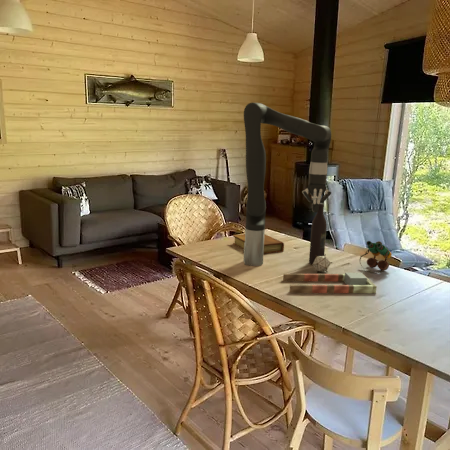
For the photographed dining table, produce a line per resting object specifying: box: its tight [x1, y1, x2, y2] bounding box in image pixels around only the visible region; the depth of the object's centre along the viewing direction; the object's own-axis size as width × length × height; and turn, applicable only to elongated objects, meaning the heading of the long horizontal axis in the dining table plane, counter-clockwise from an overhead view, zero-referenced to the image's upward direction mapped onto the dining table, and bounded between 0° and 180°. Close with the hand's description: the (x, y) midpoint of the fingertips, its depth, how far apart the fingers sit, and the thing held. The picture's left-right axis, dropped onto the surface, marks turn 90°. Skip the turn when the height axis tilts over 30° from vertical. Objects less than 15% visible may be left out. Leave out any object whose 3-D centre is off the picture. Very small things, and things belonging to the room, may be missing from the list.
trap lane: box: [282, 273, 378, 294], centre depth 187 cm, size 36×15×3 cm, turn 94°
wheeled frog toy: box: [359, 240, 393, 274], centre depth 209 cm, size 14×14×15 cm
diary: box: [232, 233, 285, 255], centre depth 243 cm, size 23×19×6 cm
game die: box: [310, 253, 333, 274], centre depth 206 cm, size 9×8×10 cm
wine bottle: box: [308, 202, 328, 265], centre depth 215 cm, size 7×7×30 cm
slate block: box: [344, 272, 368, 285], centre depth 190 cm, size 7×7×4 cm
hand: (315, 212), depth 196 cm, fingers closed
